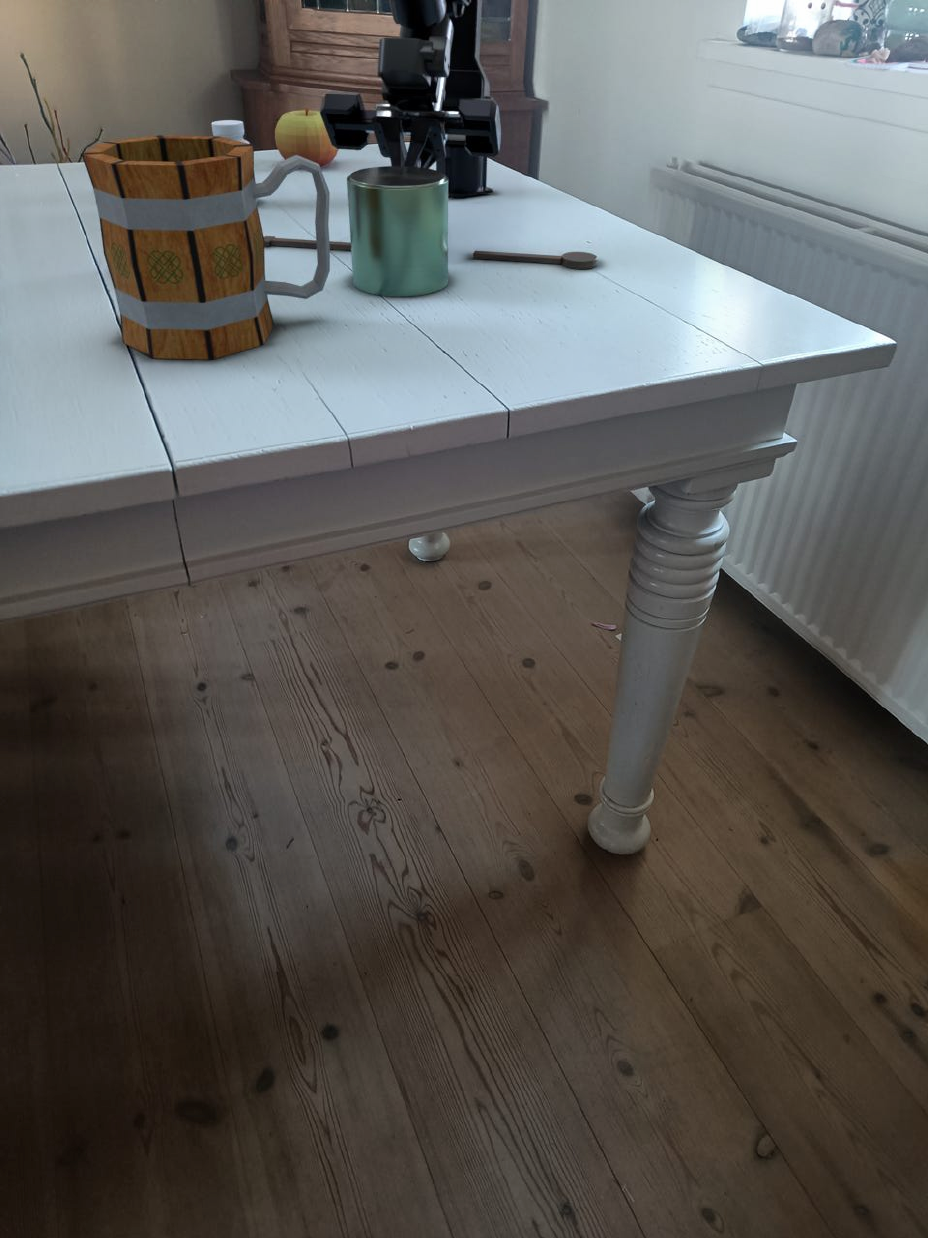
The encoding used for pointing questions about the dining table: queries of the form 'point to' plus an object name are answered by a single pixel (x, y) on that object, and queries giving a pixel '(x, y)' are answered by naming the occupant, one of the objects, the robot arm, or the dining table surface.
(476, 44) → the robot arm
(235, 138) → the pill bottle
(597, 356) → the dining table surface
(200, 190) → the mug
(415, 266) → the can
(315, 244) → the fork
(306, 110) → the apple
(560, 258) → the spoon
